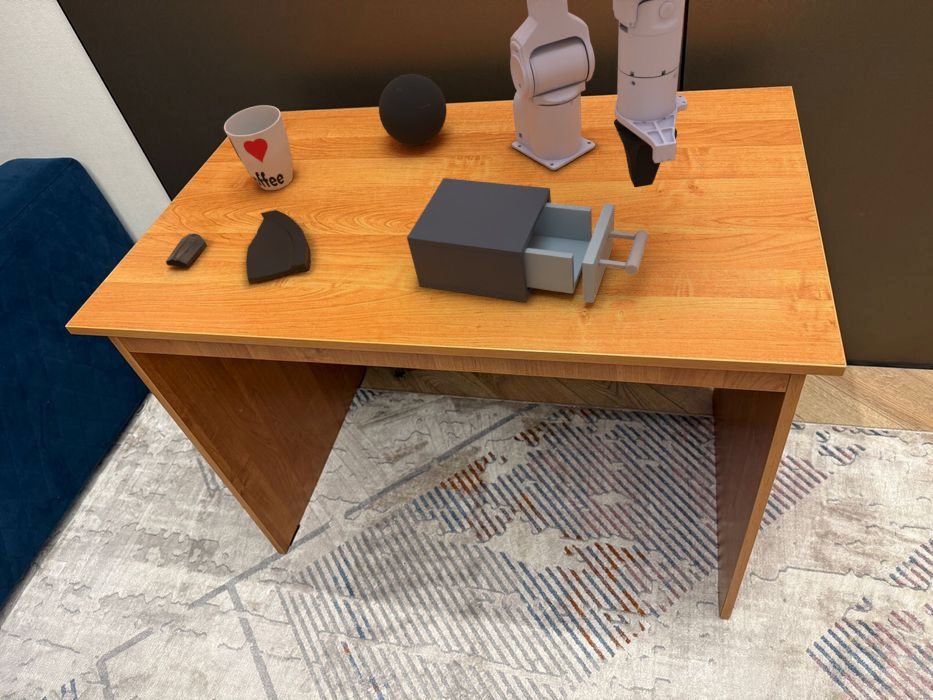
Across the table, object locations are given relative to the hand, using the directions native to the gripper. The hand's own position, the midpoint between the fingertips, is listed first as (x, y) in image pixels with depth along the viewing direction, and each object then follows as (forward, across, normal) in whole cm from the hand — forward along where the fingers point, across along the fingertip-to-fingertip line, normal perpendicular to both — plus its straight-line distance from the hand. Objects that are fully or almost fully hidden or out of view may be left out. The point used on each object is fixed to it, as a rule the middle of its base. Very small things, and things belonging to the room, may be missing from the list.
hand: (641, 182), depth 76 cm
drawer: (+9, -2, +9) cm, 12 cm away
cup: (+10, +29, +47) cm, 56 cm away
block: (+10, +14, +58) cm, 61 cm away
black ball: (+10, +33, +25) cm, 43 cm away
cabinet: (+9, +2, +18) cm, 21 cm away
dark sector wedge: (+10, +12, +45) cm, 47 cm away
